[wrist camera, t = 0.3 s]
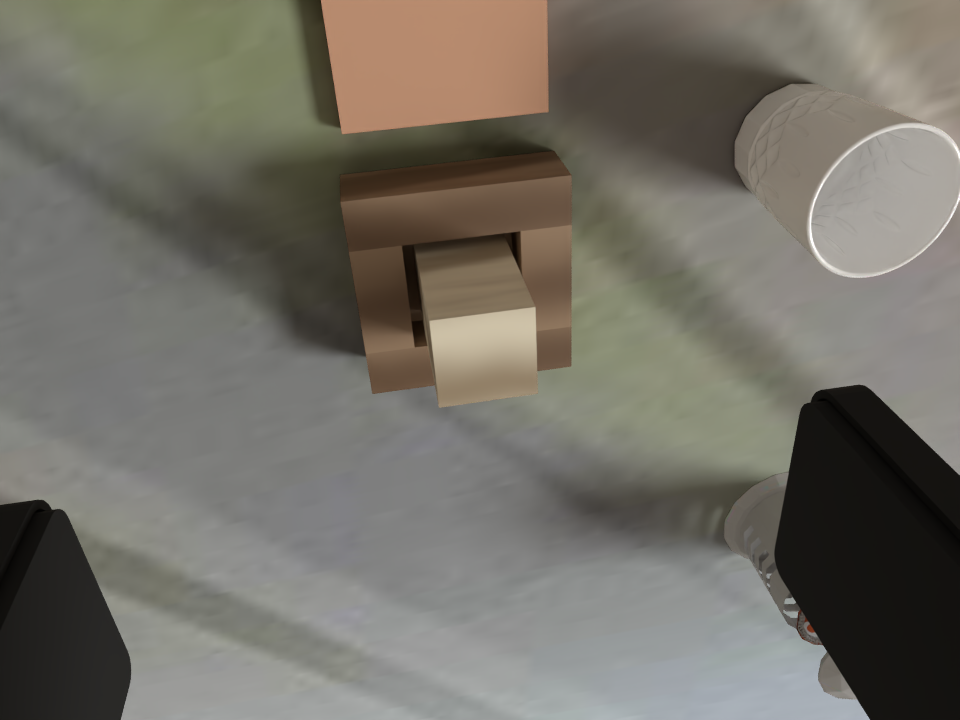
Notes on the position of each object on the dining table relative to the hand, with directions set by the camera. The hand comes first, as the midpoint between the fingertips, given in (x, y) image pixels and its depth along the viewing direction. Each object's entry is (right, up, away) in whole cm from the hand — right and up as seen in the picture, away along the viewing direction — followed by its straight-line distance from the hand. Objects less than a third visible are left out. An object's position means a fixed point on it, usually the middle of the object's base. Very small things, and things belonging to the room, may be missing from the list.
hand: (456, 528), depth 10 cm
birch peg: (-1, +8, +36) cm, 37 cm away
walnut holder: (-1, +8, +37) cm, 38 cm away
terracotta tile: (-2, +20, +30) cm, 36 cm away
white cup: (+18, +15, +37) cm, 44 cm away
